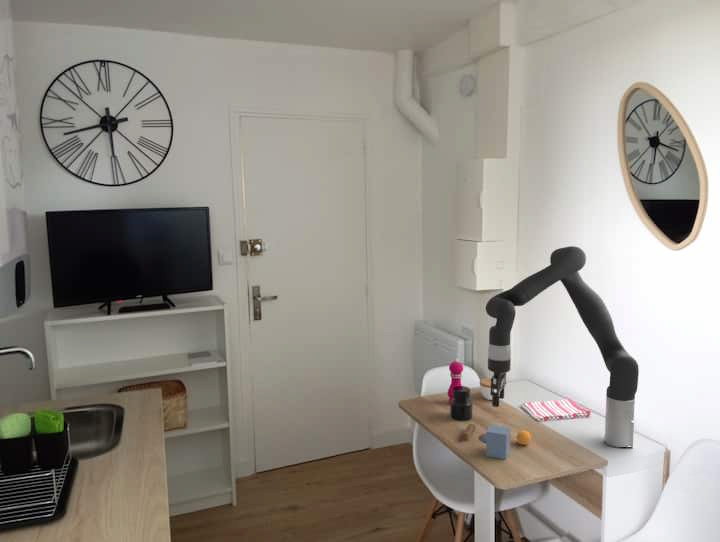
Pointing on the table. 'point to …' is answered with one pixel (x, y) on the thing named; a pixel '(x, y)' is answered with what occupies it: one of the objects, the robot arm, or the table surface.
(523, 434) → the ball
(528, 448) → the table surface
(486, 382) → the lidded jar
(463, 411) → the ink bottle
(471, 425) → the strip
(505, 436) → the blue gray block
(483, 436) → the gray ellipsoid
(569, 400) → the dish towel
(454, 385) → the pepper mill
